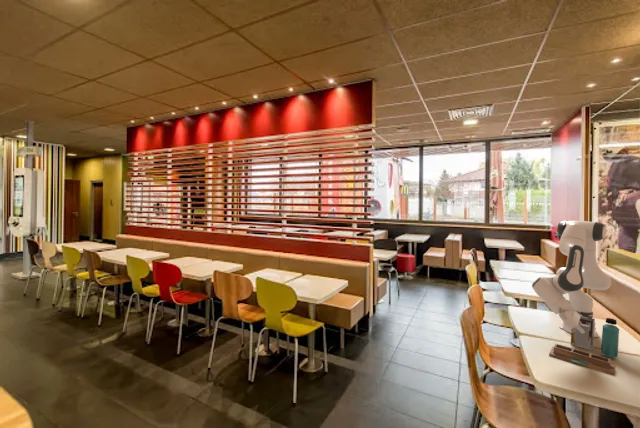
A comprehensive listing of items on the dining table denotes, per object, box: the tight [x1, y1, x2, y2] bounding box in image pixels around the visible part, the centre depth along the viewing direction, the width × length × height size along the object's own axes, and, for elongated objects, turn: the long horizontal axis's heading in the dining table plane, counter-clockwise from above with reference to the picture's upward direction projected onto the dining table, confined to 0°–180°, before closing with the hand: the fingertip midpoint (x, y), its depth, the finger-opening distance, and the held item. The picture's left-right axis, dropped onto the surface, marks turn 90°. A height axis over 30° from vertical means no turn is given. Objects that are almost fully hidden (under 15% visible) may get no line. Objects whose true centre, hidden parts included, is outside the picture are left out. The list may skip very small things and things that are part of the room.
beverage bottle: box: [600, 317, 620, 358], centre depth 158 cm, size 6×7×20 cm
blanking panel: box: [575, 323, 589, 347], centre depth 153 cm, size 3×4×10 cm, turn 46°
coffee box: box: [570, 316, 596, 351], centre depth 170 cm, size 9×6×16 cm
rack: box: [548, 343, 615, 376], centre depth 153 cm, size 13×24×4 cm, turn 46°
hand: (584, 331), depth 152 cm, fingers closed on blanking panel, 3 cm apart
